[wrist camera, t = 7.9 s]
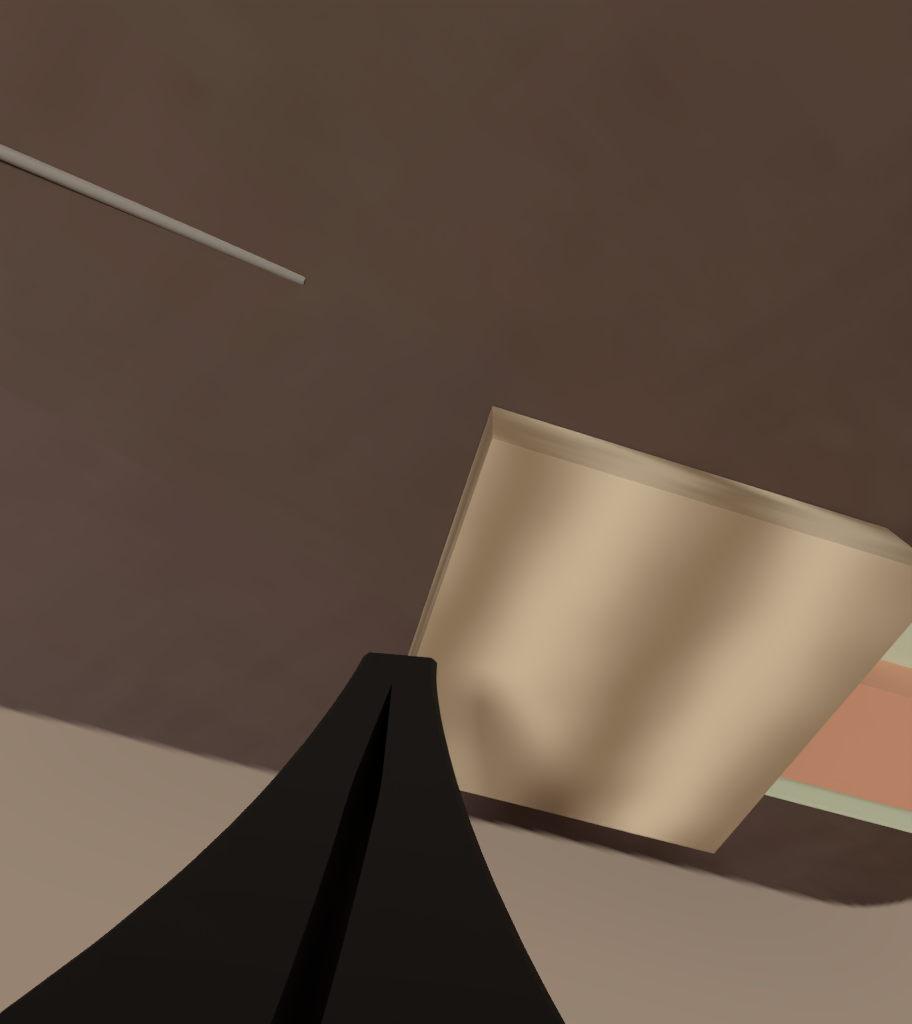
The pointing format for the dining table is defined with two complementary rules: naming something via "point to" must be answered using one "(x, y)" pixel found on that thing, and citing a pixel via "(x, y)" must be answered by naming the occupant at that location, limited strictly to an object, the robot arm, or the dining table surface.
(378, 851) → the robot arm
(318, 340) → the dining table surface
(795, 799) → the mat
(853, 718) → the tile
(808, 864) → the dining table surface
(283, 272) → the sign
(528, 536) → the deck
